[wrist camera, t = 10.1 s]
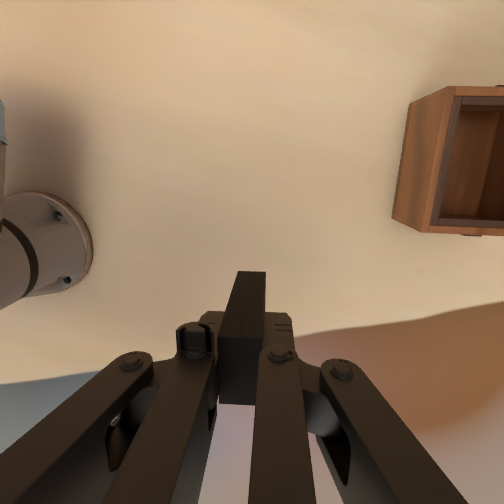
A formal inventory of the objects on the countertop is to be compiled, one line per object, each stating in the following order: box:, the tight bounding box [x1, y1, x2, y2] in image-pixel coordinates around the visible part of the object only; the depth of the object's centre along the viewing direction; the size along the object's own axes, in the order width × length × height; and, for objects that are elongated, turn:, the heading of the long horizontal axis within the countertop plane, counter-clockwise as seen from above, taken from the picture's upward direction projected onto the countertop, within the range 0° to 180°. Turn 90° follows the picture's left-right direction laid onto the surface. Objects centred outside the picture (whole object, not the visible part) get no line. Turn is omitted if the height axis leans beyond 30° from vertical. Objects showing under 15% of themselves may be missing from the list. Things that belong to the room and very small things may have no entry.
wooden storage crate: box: [392, 85, 504, 236], centre depth 35 cm, size 9×14×11 cm
